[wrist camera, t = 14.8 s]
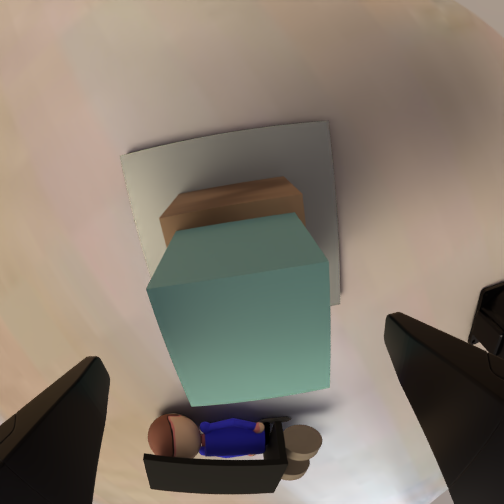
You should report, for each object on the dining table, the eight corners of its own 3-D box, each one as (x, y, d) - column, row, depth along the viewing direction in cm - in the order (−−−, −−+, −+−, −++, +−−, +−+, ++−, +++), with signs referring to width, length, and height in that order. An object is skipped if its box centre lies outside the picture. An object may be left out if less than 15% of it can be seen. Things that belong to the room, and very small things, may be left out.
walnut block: (283, 176, 17) (302, 194, 12) (294, 271, 19) (312, 315, 15) (178, 193, 17) (159, 218, 12) (200, 286, 19) (191, 334, 15)
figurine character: (308, 392, 27) (145, 395, 24) (334, 455, 20) (140, 467, 17) (293, 431, 30) (152, 435, 27) (312, 487, 23) (151, 497, 20)
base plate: (323, 121, 17) (328, 120, 16) (336, 296, 21) (340, 304, 21) (125, 154, 17) (119, 156, 16) (170, 322, 22) (168, 330, 21)
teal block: (294, 212, 13) (328, 261, 8) (303, 312, 15) (329, 387, 10) (175, 230, 13) (146, 288, 8) (201, 327, 15) (191, 406, 10)
